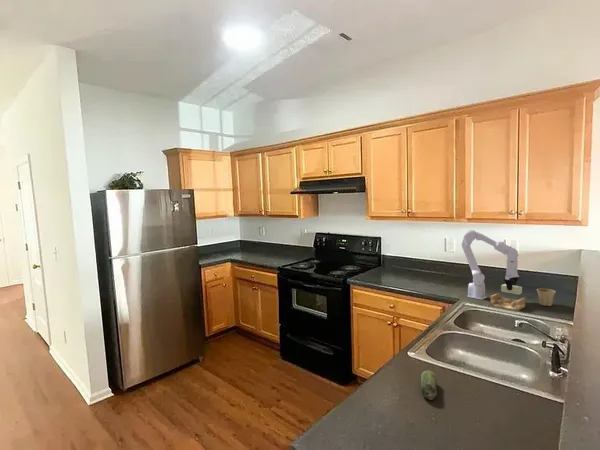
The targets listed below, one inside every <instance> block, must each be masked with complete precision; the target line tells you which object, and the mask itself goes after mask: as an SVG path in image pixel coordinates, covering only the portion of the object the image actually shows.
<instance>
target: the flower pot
mask: <svg viewBox="0 0 600 450" xmlns="http://www.w3.org/2000/svg"><path fill="white" fill-rule="evenodd" d="M536 292H537V295H538V303H539V305H541V306H549V307H550V306H553V302H554V297H555V295H556V292H557V291H556V290H555V289H554V290H553V289H550V288H537V289H536Z"/></svg>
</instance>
